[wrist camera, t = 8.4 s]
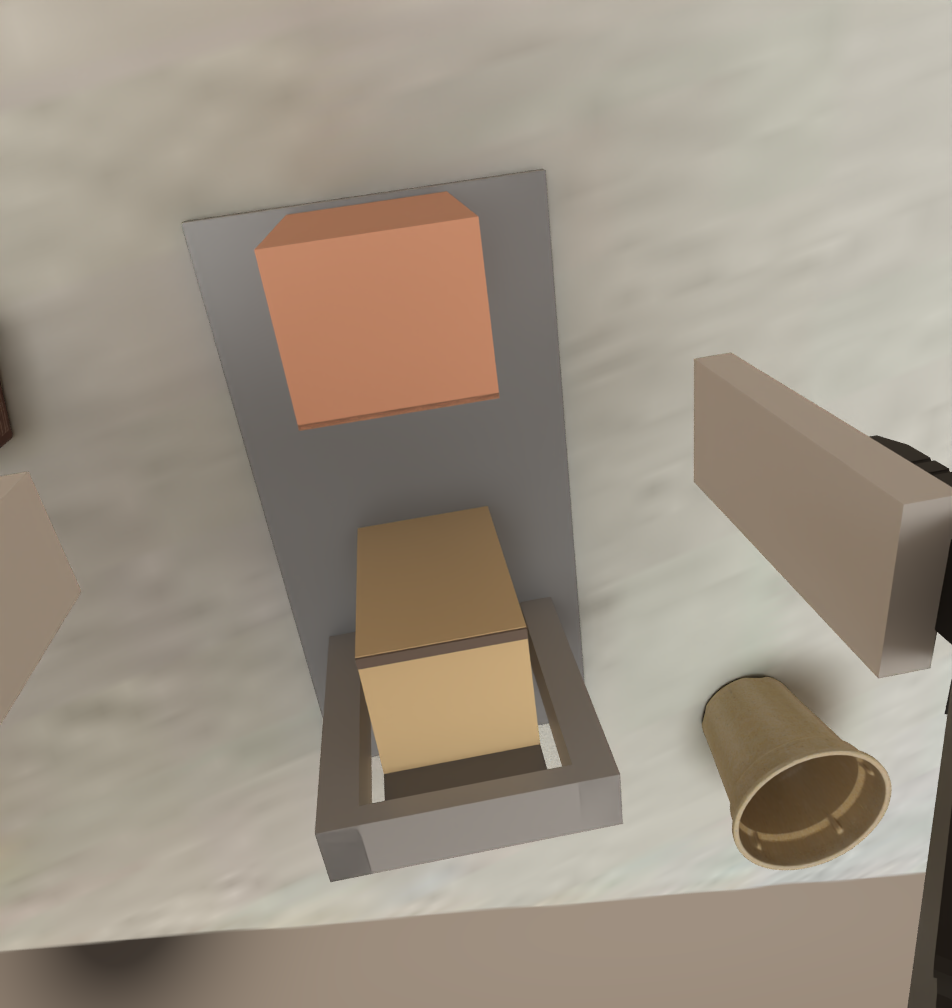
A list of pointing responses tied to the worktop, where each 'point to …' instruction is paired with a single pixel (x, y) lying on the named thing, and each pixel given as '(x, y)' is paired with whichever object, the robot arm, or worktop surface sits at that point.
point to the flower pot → (790, 777)
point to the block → (380, 309)
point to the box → (4, 422)
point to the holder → (428, 563)
